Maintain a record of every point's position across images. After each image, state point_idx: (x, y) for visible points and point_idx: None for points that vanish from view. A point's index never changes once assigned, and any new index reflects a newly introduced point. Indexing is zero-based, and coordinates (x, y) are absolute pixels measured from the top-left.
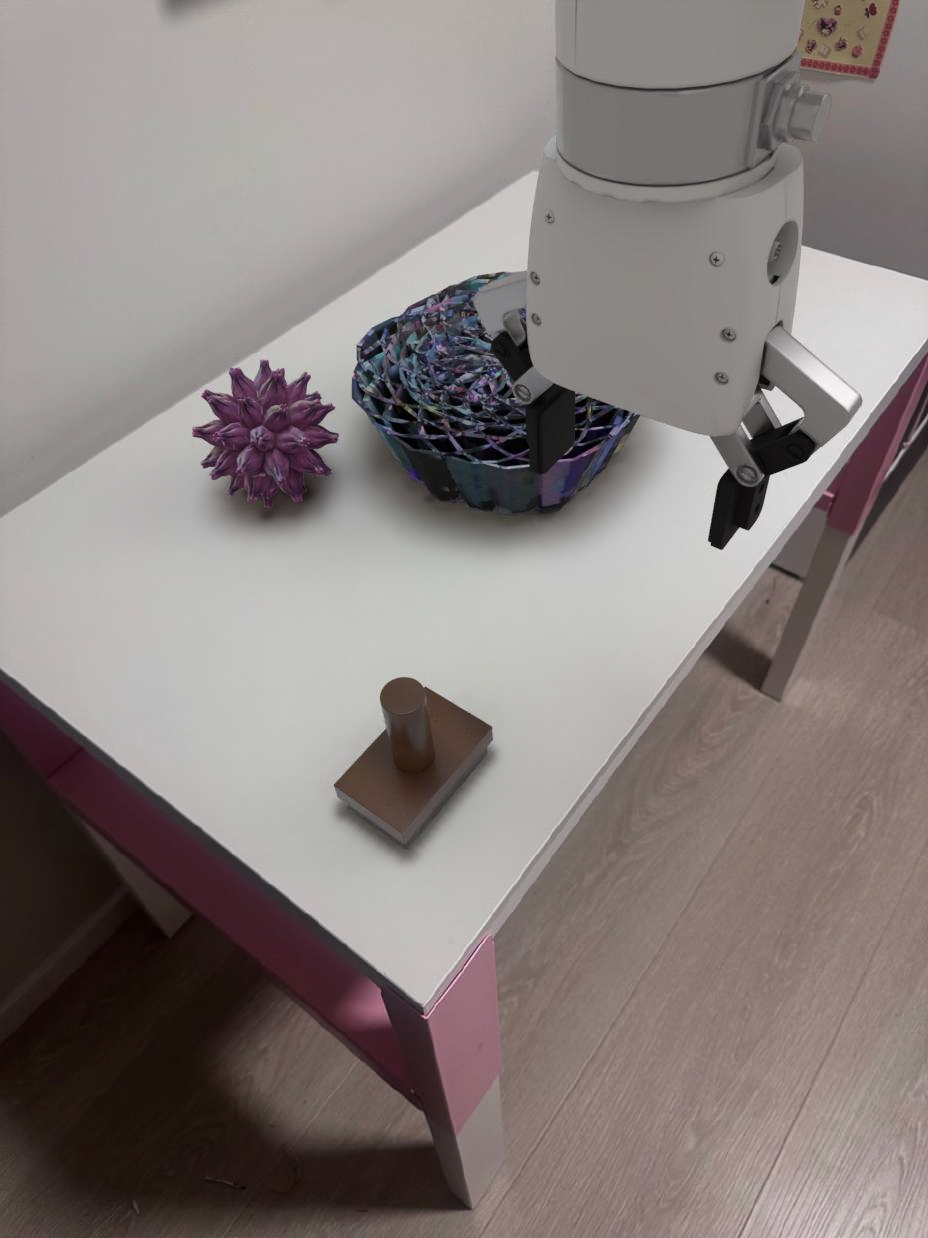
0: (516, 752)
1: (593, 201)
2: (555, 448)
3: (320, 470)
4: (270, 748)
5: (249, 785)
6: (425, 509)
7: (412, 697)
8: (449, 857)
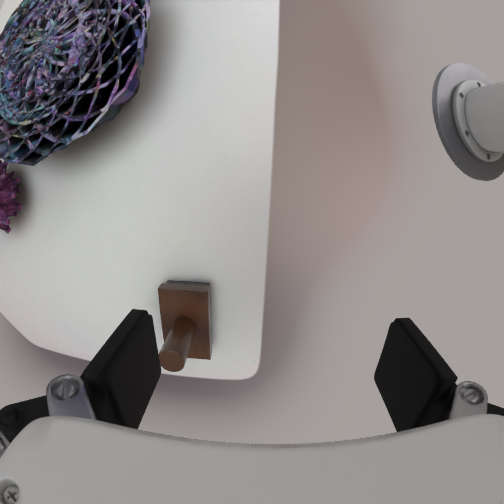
0: (222, 273)
1: None
2: (150, 364)
3: (14, 195)
4: None
5: None
6: (69, 149)
7: (176, 360)
8: (230, 336)
